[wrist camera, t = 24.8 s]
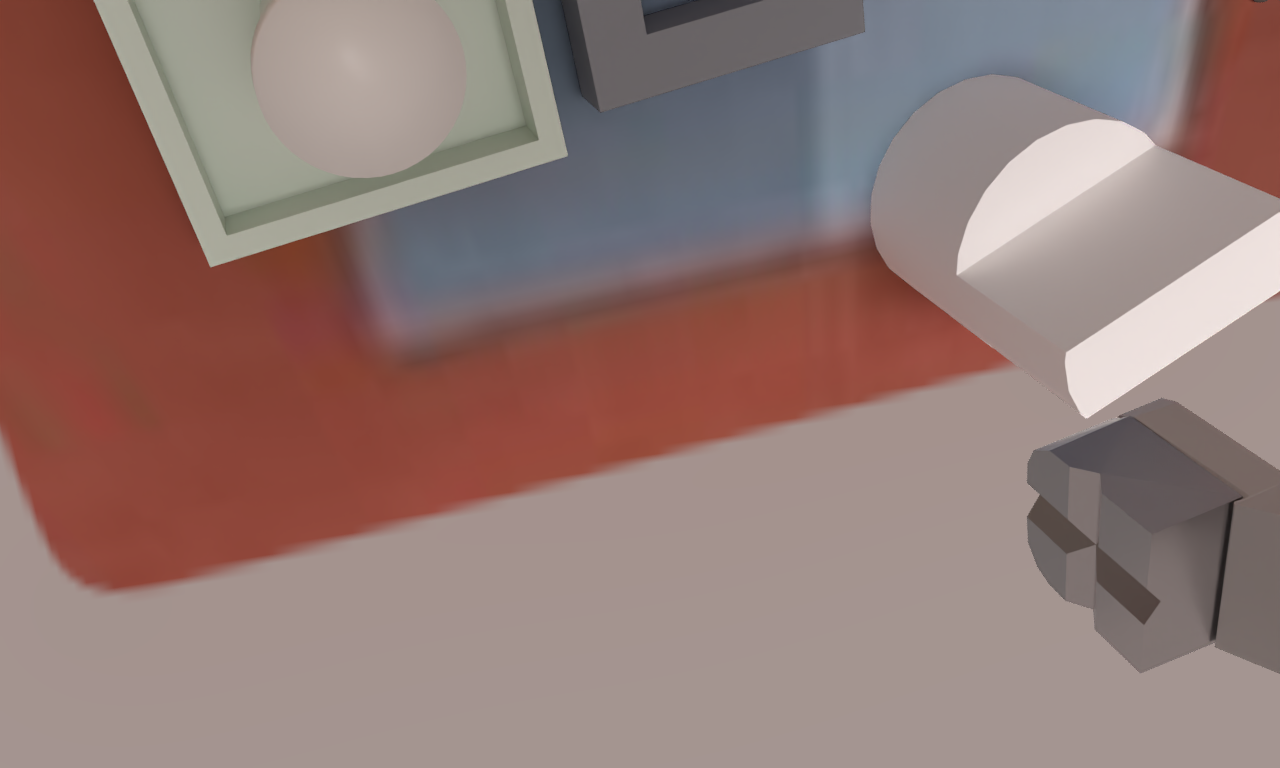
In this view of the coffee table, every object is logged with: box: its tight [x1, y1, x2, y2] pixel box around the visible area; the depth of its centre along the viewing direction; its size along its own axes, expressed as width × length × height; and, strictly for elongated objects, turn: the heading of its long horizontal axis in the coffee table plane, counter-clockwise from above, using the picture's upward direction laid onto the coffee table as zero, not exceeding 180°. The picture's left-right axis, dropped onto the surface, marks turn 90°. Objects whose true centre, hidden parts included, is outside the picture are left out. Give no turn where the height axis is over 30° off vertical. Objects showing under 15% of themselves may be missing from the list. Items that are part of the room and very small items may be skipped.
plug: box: [251, 0, 467, 178], centre depth 32 cm, size 5×5×7 cm
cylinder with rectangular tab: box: [870, 74, 1280, 419], centre depth 41 cm, size 9×9×12 cm
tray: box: [94, 0, 568, 267], centre depth 34 cm, size 12×12×2 cm
